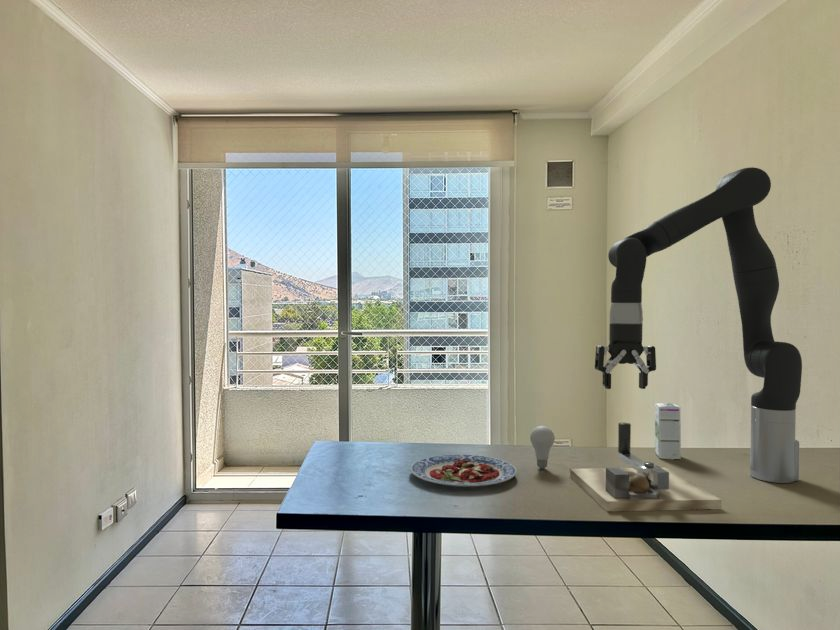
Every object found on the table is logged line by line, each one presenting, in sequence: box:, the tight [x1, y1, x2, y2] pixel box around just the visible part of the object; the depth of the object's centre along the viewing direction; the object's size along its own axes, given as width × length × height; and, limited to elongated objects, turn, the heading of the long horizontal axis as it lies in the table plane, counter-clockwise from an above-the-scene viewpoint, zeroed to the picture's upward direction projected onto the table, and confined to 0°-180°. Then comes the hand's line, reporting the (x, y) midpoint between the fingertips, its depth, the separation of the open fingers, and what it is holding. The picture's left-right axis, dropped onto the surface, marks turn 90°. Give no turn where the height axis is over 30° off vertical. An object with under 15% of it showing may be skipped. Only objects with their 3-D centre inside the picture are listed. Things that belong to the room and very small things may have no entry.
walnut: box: [629, 475, 649, 493], centre depth 119 cm, size 4×4×4 cm
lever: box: [617, 422, 669, 490], centre depth 128 cm, size 5×21×10 cm, turn 3°
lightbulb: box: [529, 425, 556, 470], centre depth 144 cm, size 6×6×11 cm
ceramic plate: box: [410, 453, 517, 488], centre depth 138 cm, size 26×26×3 cm
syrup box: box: [654, 402, 682, 460], centre depth 156 cm, size 6×6×14 cm
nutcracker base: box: [569, 467, 722, 512], centre depth 127 cm, size 24×23×7 cm
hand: (624, 388), depth 137 cm, fingers open, 8 cm apart
